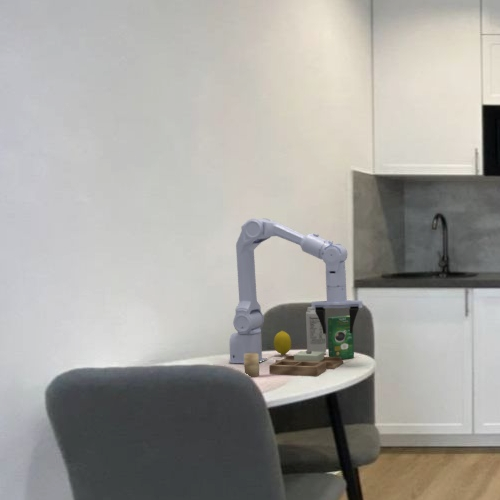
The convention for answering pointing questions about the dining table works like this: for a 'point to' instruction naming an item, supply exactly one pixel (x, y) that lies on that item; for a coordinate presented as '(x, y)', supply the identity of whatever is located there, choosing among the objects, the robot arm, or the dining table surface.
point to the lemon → (282, 343)
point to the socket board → (297, 368)
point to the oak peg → (251, 364)
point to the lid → (309, 356)
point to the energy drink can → (314, 332)
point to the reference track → (330, 361)
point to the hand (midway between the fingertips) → (338, 333)
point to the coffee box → (340, 337)
